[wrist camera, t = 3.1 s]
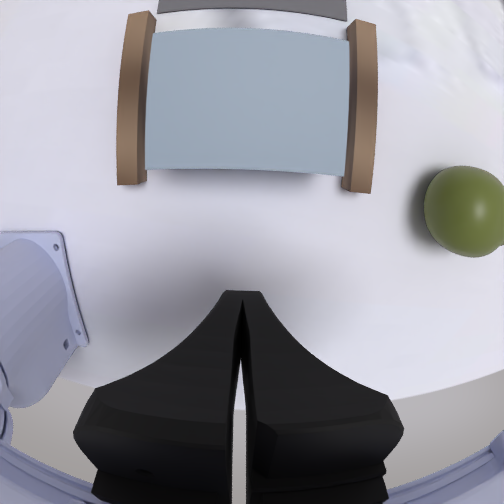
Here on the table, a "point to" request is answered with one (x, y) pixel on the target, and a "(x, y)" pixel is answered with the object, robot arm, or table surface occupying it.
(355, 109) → the chute
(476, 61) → the table surface
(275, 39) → the block
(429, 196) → the pear
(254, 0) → the mat
